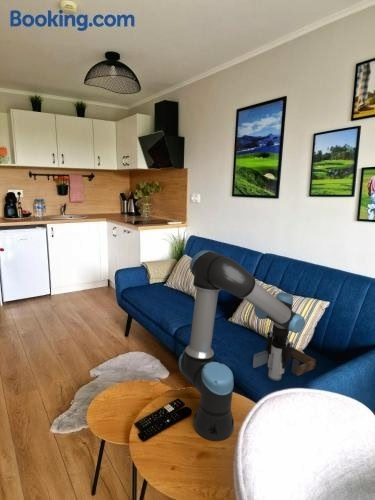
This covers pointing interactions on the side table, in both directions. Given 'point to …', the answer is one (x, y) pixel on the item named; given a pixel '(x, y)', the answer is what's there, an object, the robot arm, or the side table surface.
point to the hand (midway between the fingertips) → (275, 369)
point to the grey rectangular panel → (260, 359)
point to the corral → (304, 358)
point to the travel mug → (275, 361)
